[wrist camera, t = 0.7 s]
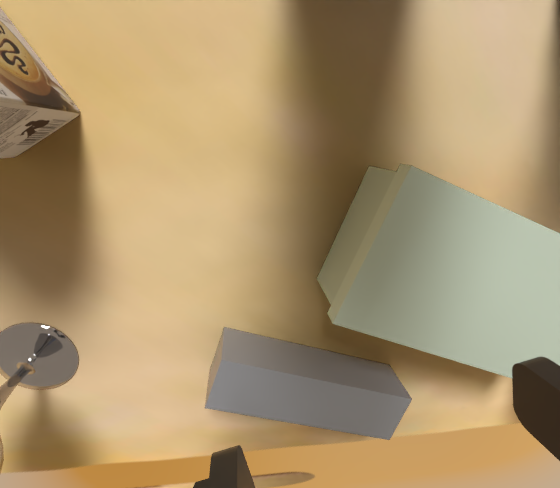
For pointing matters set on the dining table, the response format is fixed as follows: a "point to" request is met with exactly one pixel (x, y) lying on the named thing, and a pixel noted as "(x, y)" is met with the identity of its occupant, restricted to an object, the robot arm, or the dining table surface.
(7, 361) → the wine glass
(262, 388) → the grey rectangular brick
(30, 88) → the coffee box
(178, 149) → the dining table surface
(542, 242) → the sage shelf
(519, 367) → the robot arm
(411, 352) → the dining table surface
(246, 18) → the dining table surface
